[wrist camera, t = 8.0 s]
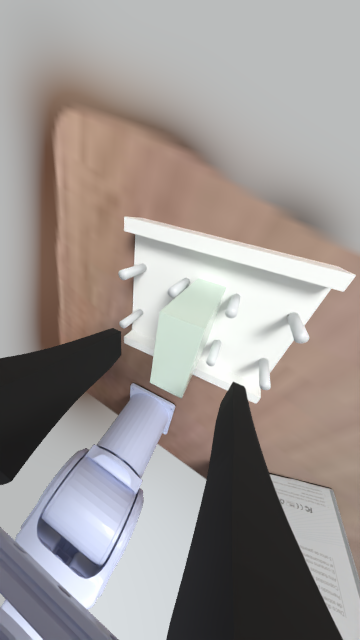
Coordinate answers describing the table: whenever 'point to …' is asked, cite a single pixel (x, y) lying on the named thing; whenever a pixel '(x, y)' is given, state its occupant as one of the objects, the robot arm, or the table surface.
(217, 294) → the block
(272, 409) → the table surface
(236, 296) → the dish rack
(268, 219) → the table surface
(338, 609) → the hard drive box
